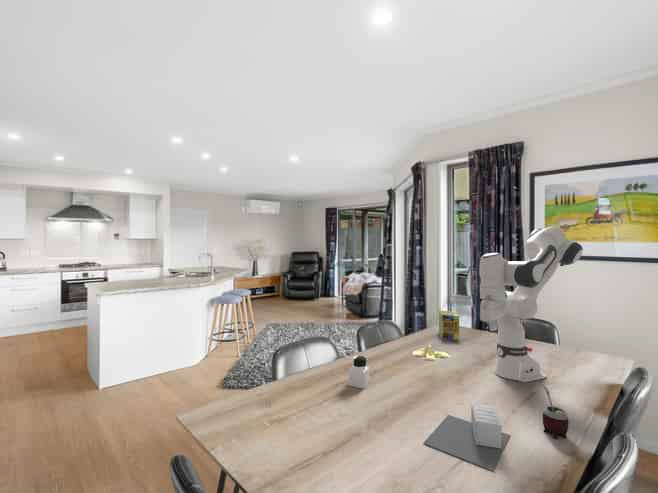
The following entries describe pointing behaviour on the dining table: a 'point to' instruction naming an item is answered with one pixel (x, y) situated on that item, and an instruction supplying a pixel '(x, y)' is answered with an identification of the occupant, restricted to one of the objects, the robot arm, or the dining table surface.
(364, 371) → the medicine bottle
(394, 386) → the dining table surface
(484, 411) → the supplement box
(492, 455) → the mat
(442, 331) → the protein box
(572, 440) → the dining table surface
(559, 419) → the mate gourd
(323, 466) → the dining table surface
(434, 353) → the banana bunch
